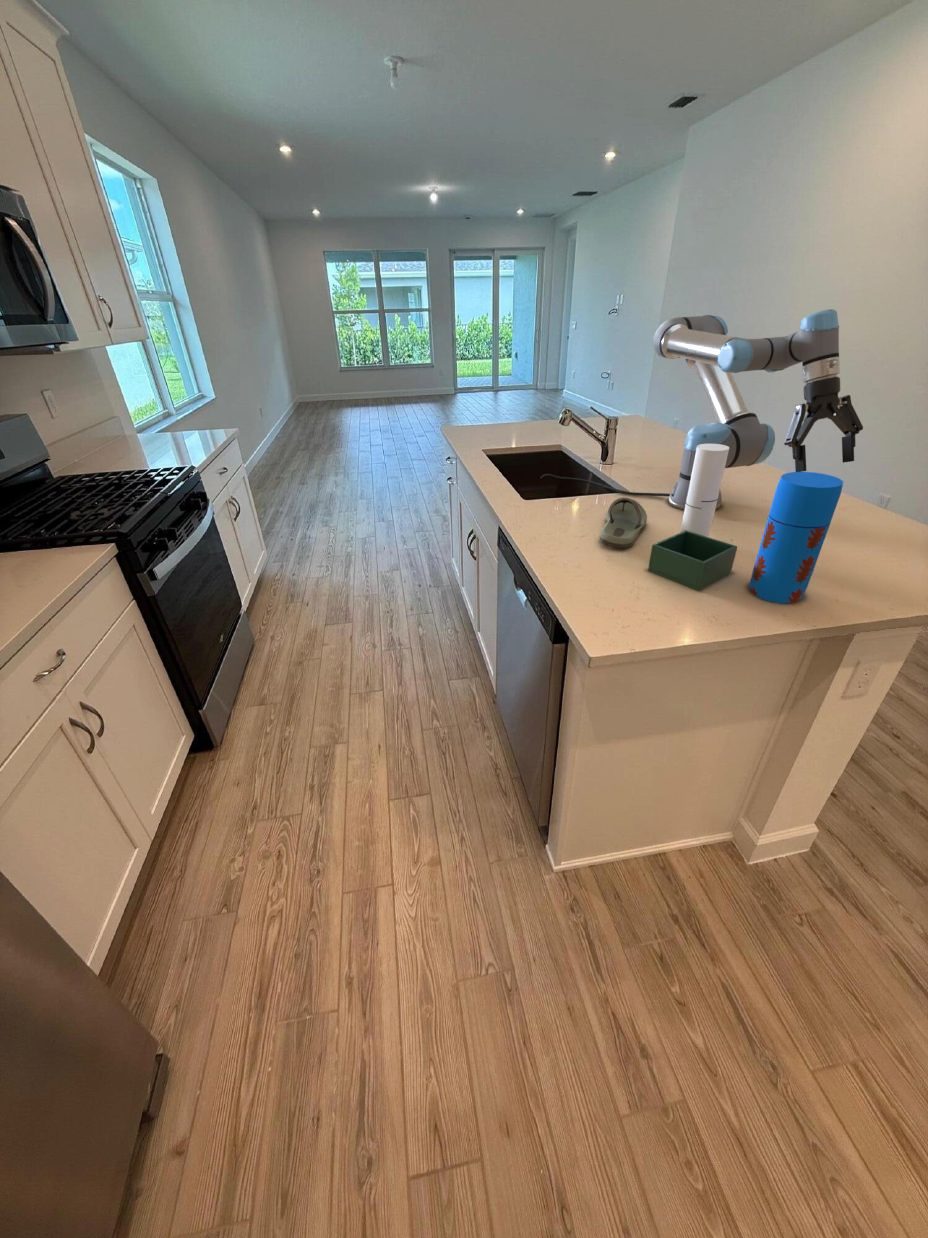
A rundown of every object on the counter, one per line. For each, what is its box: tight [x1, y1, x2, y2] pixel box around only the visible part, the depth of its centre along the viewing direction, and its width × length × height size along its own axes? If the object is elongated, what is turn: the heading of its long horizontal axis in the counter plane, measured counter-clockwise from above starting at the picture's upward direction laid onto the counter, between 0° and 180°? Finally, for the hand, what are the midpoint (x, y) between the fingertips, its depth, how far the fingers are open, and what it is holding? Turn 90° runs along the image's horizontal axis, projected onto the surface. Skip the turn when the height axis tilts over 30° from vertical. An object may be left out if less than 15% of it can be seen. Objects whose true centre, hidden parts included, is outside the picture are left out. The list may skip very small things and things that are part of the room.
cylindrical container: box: [679, 444, 729, 538], centre depth 129 cm, size 7×7×25 cm
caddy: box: [647, 530, 739, 591], centre depth 120 cm, size 13×13×7 cm
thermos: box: [748, 471, 844, 604], centre depth 105 cm, size 11×11×25 cm
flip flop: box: [599, 497, 648, 549], centre depth 142 cm, size 29×12×8 cm, turn 155°
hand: (824, 466), depth 131 cm, fingers open, 13 cm apart
